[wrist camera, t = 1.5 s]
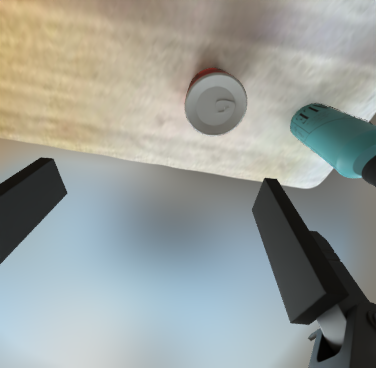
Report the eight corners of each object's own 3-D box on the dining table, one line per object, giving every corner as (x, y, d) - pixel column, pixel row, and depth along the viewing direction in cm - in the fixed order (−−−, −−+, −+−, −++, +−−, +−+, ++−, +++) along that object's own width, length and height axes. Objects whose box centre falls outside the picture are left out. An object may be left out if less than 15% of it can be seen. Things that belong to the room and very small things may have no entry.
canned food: (238, 105, 33) (253, 124, 24) (197, 122, 35) (197, 145, 26) (226, 57, 29) (239, 59, 20) (181, 79, 31) (174, 90, 22)
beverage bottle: (303, 141, 36) (391, 211, 20) (277, 126, 34) (347, 189, 18) (331, 110, 32) (466, 165, 16) (303, 92, 31) (420, 133, 15)
